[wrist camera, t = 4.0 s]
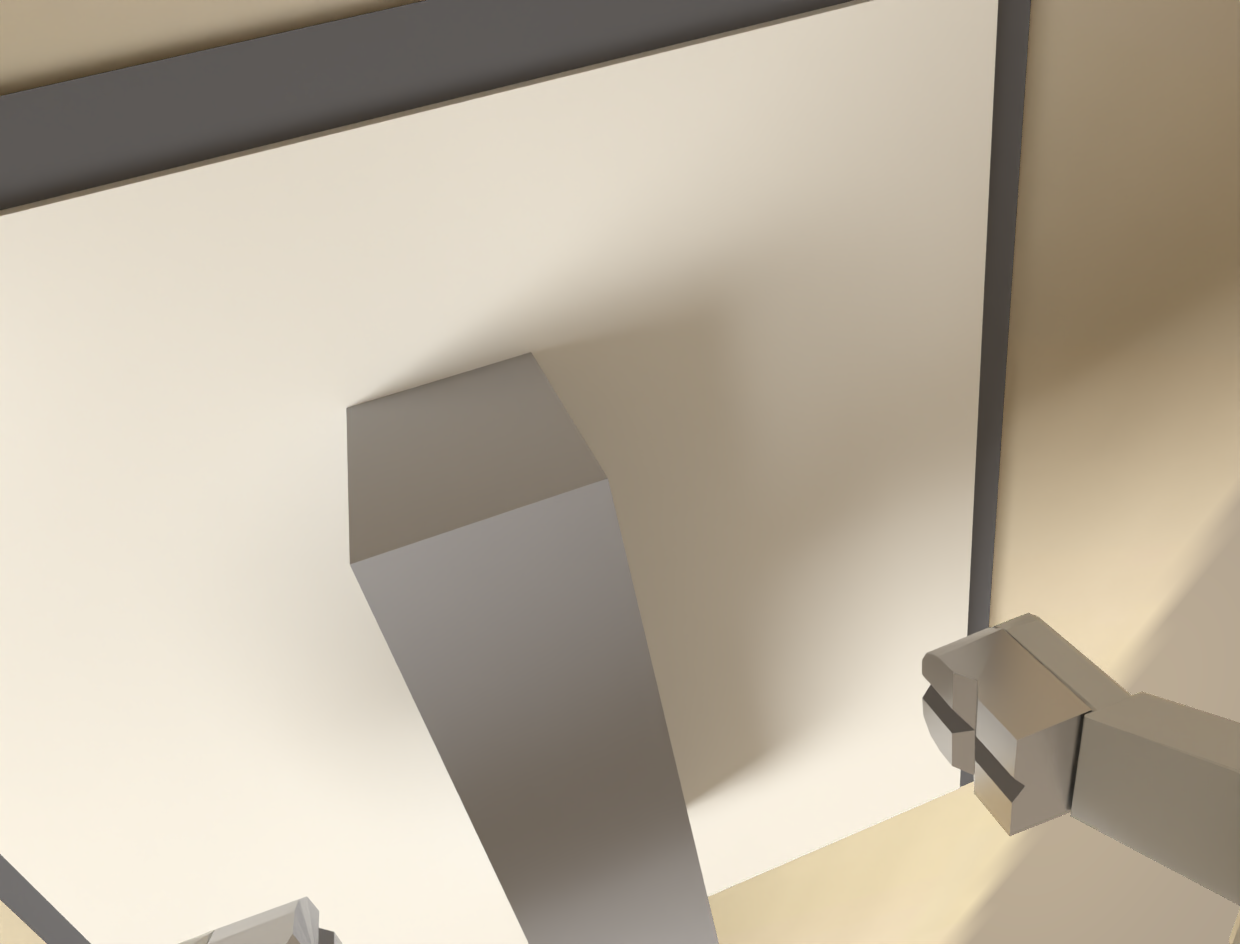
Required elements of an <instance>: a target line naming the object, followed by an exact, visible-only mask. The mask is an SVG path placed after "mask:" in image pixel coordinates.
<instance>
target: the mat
mask: <svg viewBox="0 0 1240 944" xmlns="http://www.w3.org/2000/svg"><path fill="white" fill-rule="evenodd" d="M850 1H854V0H425V1H421V2H416V3H412V4H407V5H403V6H399V7H394V8H390V9H385V10H381V11H376V12H372V13H367V14H363V15H358V16H354V17H350V18H345V19H341V20H336V21H332V22H327V23H323V24H318V25H314V26H310V27H305V28H301V29H296V30H292V31H287V32H283V33H278V34H274V35H269V36H265V37H261V38H256V39H252V40H247V41H243V42H238V43H234V44H229V45H225V46H221V47H216V48H212V49H207V50H203V51H198V52H194V53H189V54H185V55H180V56H176V57H172V58H167V59H163V60H158V61H154V62H149V63H145V64H140V65H136V66H132V67H127V68H123V69H118V70H114V71H109V72H105V73H100V74H96V75H91V76H87V77H83V78H78V79H74V80H69V81H65V82H60V83H56V84H51V85H47V86H43V87H38V88H34V89H29V90H25V91H20V92H16V93H11V94H7V95H2V96H0V210H4V209H8V208H12V207H17V206H21V205H25V204H29V203H33V202H37V201H41V200H45V199H49V198H53V197H57V196H61V195H65V194H69V193H73V192H77V191H82V190H86V189H90V188H94V187H98V186H102V185H106V184H110V183H114V182H118V181H122V180H126V179H130V178H134V177H138V176H142V175H147V174H151V173H155V172H159V171H163V170H167V169H171V168H175V167H179V166H183V165H187V164H191V163H195V162H199V161H203V160H207V159H212V158H216V157H220V156H224V155H228V154H232V153H236V152H240V151H244V150H248V149H252V148H256V147H260V146H264V145H268V144H273V143H277V142H281V141H285V140H289V139H293V138H297V137H301V136H305V135H309V134H313V133H317V132H321V131H325V130H329V129H333V128H338V127H342V126H346V125H350V124H354V123H358V122H362V121H366V120H370V119H374V118H378V117H382V116H386V115H390V114H394V113H398V112H403V111H407V110H411V109H415V108H419V107H423V106H427V105H431V104H435V103H439V102H443V101H447V100H451V99H455V98H459V97H463V96H468V95H472V94H476V93H480V92H484V91H488V90H492V89H496V88H500V87H504V86H508V85H512V84H516V83H520V82H524V81H529V80H533V79H537V78H541V77H545V76H549V75H553V74H557V73H561V72H565V71H569V70H573V69H577V68H581V67H585V66H589V65H594V64H598V63H602V62H606V61H610V60H614V59H618V58H622V57H626V56H630V55H634V54H638V53H642V52H646V51H650V50H654V49H659V48H663V47H667V46H671V45H675V44H679V43H683V42H687V41H691V40H695V39H699V38H703V37H707V36H711V35H715V34H719V33H724V32H728V31H732V30H736V29H740V28H744V27H748V26H752V25H756V24H760V23H764V22H768V21H772V20H776V19H780V18H785V17H789V16H793V15H797V14H801V13H805V12H809V11H813V10H817V9H821V8H825V7H829V6H833V5H837V4H841V3H845V2H850ZM1030 6H1031V0H998V15H997V36H996V56H995V77H994V97H993V118H992V138H991V158H990V179H989V199H988V220H987V240H986V261H985V281H984V302H983V322H982V342H981V363H980V383H979V404H978V424H977V445H976V465H975V485H974V506H973V526H972V547H971V567H970V588H969V608H968V629H967V636H969V635H971V634H974V633H976V632H979V631H981V630H984V629H986V628H988V627H989V613H990V599H991V584H992V569H993V554H994V539H995V524H996V510H997V495H998V480H999V465H1000V450H1001V436H1002V421H1003V406H1004V391H1005V376H1006V362H1007V347H1008V332H1009V317H1010V302H1011V287H1012V273H1013V258H1014V243H1015V228H1016V213H1017V199H1018V184H1019V169H1020V154H1021V139H1022V125H1023V110H1024V95H1025V80H1026V65H1027V50H1028V36H1029V21H1030ZM973 781H974V775H972V774H970V773H967V772H965V771H963V770H961V772H960V787H961V786H963V785H966V784H968V783H970V782H973ZM0 900H1V901H2V902H3V903H4V904H5V905H7V906H8V907H9V908H10V909H11V910H12V911H13V912H14V913H15V914H16V915H17V916H18V917H19V918H20V919H21V920H22V921H24V922H25V923H26V924H27V925H28V926H29V927H30V928H31V929H32V930H33V931H34V932H35V933H36V934H37V935H38V936H40V937H41V938H42V939H43V940H44V941H45V942H46V943H47V944H91V943H90V942H89V941H88V940H87V939H86V938H85V937H84V936H83V935H82V934H81V933H80V932H79V931H78V930H77V929H76V928H75V927H74V926H73V925H72V924H71V923H70V922H69V921H68V920H67V919H66V918H65V917H64V916H62V915H61V914H60V913H59V912H58V911H57V910H56V909H55V908H54V907H53V906H52V905H51V904H50V903H49V902H48V901H47V900H46V899H45V898H44V897H43V896H42V895H41V894H40V893H39V892H38V891H37V890H36V889H35V888H34V887H33V886H32V885H31V884H30V883H29V882H28V881H27V880H26V879H25V878H24V877H23V876H22V875H21V874H20V873H19V872H18V871H17V870H16V869H15V868H14V867H13V866H12V865H11V864H10V863H9V862H8V861H7V860H6V859H5V858H4V857H3V856H2V855H1V854H0Z"/></svg>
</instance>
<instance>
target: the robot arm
mask: <svg viewBox="0 0 1240 944" xmlns="http://www.w3.org/2000/svg"><path fill="white" fill-rule="evenodd" d="M922 675H923V676H924V677H925V678H926V680H927V681H928V682H929V683H930V684H931V685H930V686H929V688H928V689H927V691H926V693H925V694H924V696H923V697H922V703H923V716H924V719H925V722H926V724H927V727H928V730H929V733H930V735H931V737H932V739H933V740H934V742H935V744H936V745H937V747H938V749H939V750H940V752H941V753H942V754H943V755H944V757H945V758H946V759H947V760H948V762H949V763H950V764H951V765H952V766H953V767H956V768H958V769H960V770H963V771H965V772H967V773H970V774H972V775H974V794H975V795H976V796H977V797H978V799H979V800H980V801H981V802H982V803H983V805H984V806H985V807H986V808H987V809H988V811H989V812H990V813H991V814H992V816H993V817H994V818H995V819H996V820H997V822H998V823H999V824H1000V825H1001V826H1002V828H1003V829H1004V830H1005V831H1006V832H1007V834H1008V835H1009V836H1011V835H1014V834H1016V833H1019V832H1021V831H1024V830H1027V829H1029V828H1032V827H1034V826H1037V825H1039V824H1042V823H1044V822H1047V821H1049V820H1052V819H1054V818H1057V817H1059V816H1062V815H1064V814H1067V813H1069V812H1071V815H1070V816H1071V817H1073V818H1075V819H1077V820H1079V821H1081V822H1082V823H1085V824H1086V825H1088V826H1090V827H1092V828H1094V829H1096V830H1098V831H1099V832H1101V833H1103V834H1105V835H1107V836H1109V837H1111V838H1113V839H1115V840H1116V841H1119V842H1120V843H1122V844H1124V845H1126V846H1128V847H1130V848H1132V849H1133V850H1135V851H1137V852H1139V853H1141V854H1143V855H1145V856H1147V857H1149V858H1150V859H1152V860H1154V861H1156V862H1158V863H1160V864H1162V865H1164V866H1166V867H1167V868H1170V869H1171V870H1173V871H1175V872H1177V873H1179V874H1181V875H1183V876H1185V877H1187V878H1188V879H1190V880H1192V881H1194V882H1196V883H1198V884H1200V885H1202V886H1203V887H1205V888H1207V889H1209V890H1211V891H1213V892H1215V893H1217V894H1219V895H1221V896H1222V897H1224V898H1226V899H1228V900H1230V901H1232V902H1234V903H1236V904H1238V905H1240V723H1239V722H1236V721H1233V720H1230V719H1227V718H1223V717H1220V716H1217V715H1214V714H1211V713H1208V712H1204V711H1202V710H1198V709H1195V708H1192V707H1189V706H1186V705H1183V704H1180V703H1176V702H1174V701H1170V700H1167V699H1164V698H1161V697H1158V696H1155V695H1152V694H1148V693H1146V692H1139V693H1137V694H1134V695H1131V694H1130V693H1129V692H1127V691H1126V690H1125V689H1124V688H1123V687H1121V686H1120V685H1119V684H1118V683H1117V682H1116V681H1114V680H1113V679H1112V678H1111V677H1110V676H1108V675H1107V674H1106V673H1105V672H1104V671H1102V670H1101V669H1100V668H1099V667H1098V666H1096V665H1095V664H1094V663H1093V662H1092V661H1090V660H1089V659H1088V658H1087V657H1086V656H1085V655H1083V654H1082V653H1081V652H1080V651H1079V650H1077V649H1076V648H1075V647H1074V646H1073V645H1071V644H1070V643H1069V642H1068V641H1067V640H1065V639H1064V638H1063V637H1062V636H1061V635H1059V634H1058V633H1057V632H1056V631H1055V630H1054V629H1052V628H1051V627H1050V626H1049V625H1048V624H1046V623H1045V622H1044V621H1043V620H1042V619H1040V618H1039V617H1038V616H1035V615H1032V614H1030V613H1027V614H1024V615H1021V616H1019V617H1016V618H1014V619H1011V620H1009V621H1006V622H1004V623H1001V624H999V625H996V626H994V627H992V628H991V627H988V628H986V629H984V630H981V631H979V632H976V633H974V634H971V635H969V636H966V637H964V638H961V639H959V640H957V641H954V642H952V643H949V644H947V645H944V646H942V647H939V648H937V649H934V650H932V651H930V652H927V653H926V654H925V656H924V658H923V659H922ZM178 944H342V942H341V941H340V939H339V938H338V936H337V935H336V934H335V932H333V931H329V930H325V929H322V928H319V910H318V909H317V908H316V907H315V905H314V904H313V903H312V902H311V900H310V899H309V898H308V897H307V896H306V897H304V898H301V899H298V900H295V901H293V902H290V903H287V904H284V905H281V906H279V907H276V908H273V909H270V910H268V911H265V912H262V913H259V914H256V915H254V916H251V917H248V918H245V919H243V920H240V921H237V922H234V923H232V924H229V925H226V926H223V927H220V928H218V929H215V930H212V931H210V932H207V933H204V934H202V935H199V936H196V937H194V938H191V939H189V940H186V941H183V942H181V943H178ZM1229 944H1240V909H1239V912H1238V915H1237V918H1236V920H1235V923H1234V926H1233V929H1232V932H1231V935H1230V937H1229Z"/></svg>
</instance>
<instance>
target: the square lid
mask: <svg viewBox="0 0 1240 944" xmlns="http://www.w3.org/2000/svg"><path fill="white" fill-rule="evenodd" d="M997 15H998V0H854V1H850V2H845V3H841V4H837V5H833V6H829V7H825V8H821V9H817V10H813V11H809V12H805V13H801V14H797V15H793V16H789V17H785V18H780V19H776V20H772V21H768V22H764V23H760V24H756V25H752V26H748V27H744V28H740V29H736V30H732V31H728V32H724V33H719V34H715V35H711V36H707V37H703V38H699V39H695V40H691V41H687V42H683V43H679V44H675V45H671V46H667V47H663V48H659V49H654V50H650V51H646V52H642V53H638V54H634V55H630V56H626V57H622V58H618V59H614V60H610V61H606V62H602V63H598V64H594V65H589V66H585V67H581V68H577V69H573V70H569V71H565V72H561V73H557V74H553V75H549V76H545V77H541V78H537V79H533V80H529V81H524V82H520V83H516V84H512V85H508V86H504V87H500V88H496V89H492V90H488V91H484V92H480V93H476V94H472V95H468V96H463V97H459V98H455V99H451V100H447V101H443V102H439V103H435V104H431V105H427V106H423V107H419V108H415V109H411V110H407V111H403V112H398V113H394V114H390V115H386V116H382V117H378V118H374V119H370V120H366V121H362V122H358V123H354V124H350V125H346V126H342V127H338V128H333V129H329V130H325V131H321V132H317V133H313V134H309V135H305V136H301V137H297V138H293V139H289V140H285V141H281V142H277V143H273V144H268V145H264V146H260V147H256V148H252V149H248V150H244V151H240V152H236V153H232V154H228V155H224V156H220V157H216V158H212V159H207V160H203V161H199V162H195V163H191V164H187V165H183V166H179V167H175V168H171V169H167V170H163V171H159V172H155V173H151V174H147V175H142V176H138V177H134V178H130V179H126V180H122V181H118V182H114V183H110V184H106V185H102V186H98V187H94V188H90V189H86V190H82V191H77V192H73V193H69V194H65V195H61V196H57V197H53V198H49V199H45V200H41V201H37V202H33V203H29V204H25V205H21V206H17V207H12V208H8V209H4V210H0V854H1V855H2V856H3V857H4V858H5V859H6V860H7V861H8V862H9V863H10V864H11V865H12V866H13V867H14V868H15V869H16V870H17V871H18V872H19V873H20V874H21V875H22V876H23V877H24V878H25V879H26V880H27V881H28V882H29V883H30V884H31V885H32V886H33V887H34V888H35V889H36V890H37V891H38V892H39V893H40V894H41V895H42V896H43V897H44V898H45V899H46V900H47V901H48V902H49V903H50V904H51V905H52V906H53V907H54V908H55V909H56V910H57V911H58V912H59V913H60V914H61V915H62V916H64V917H65V918H66V919H67V920H68V921H69V922H70V923H71V924H72V925H73V926H74V927H75V928H76V929H77V930H78V931H79V932H80V933H81V934H82V935H83V936H84V937H85V938H86V939H87V940H88V941H89V942H90V943H91V944H178V943H181V942H183V941H186V940H189V939H191V938H194V937H196V936H199V935H202V934H204V933H207V932H210V931H212V930H215V929H218V928H220V927H223V926H226V925H229V924H232V923H234V922H237V921H240V920H243V919H245V918H248V917H251V916H254V915H256V914H259V913H262V912H265V911H268V910H270V909H273V908H276V907H279V906H281V905H284V904H287V903H290V902H293V901H295V900H298V899H301V898H304V897H306V896H307V897H308V898H309V899H310V900H311V902H312V903H313V904H314V905H315V907H316V908H317V909H318V910H319V928H322V929H325V930H329V931H333V932H335V934H336V935H337V936H338V938H339V939H340V941H341V942H342V944H719V943H718V938H717V934H716V930H715V926H714V922H713V917H712V913H711V909H710V905H709V901H708V897H709V896H711V895H713V894H716V893H718V892H720V891H723V890H725V889H727V888H729V887H732V886H734V885H736V884H739V883H741V882H743V881H746V880H748V879H750V878H753V877H755V876H757V875H760V874H762V873H764V872H767V871H769V870H771V869H774V868H776V867H778V866H781V865H783V864H785V863H787V862H790V861H792V860H794V859H797V858H799V857H801V856H804V855H806V854H808V853H811V852H813V851H815V850H818V849H820V848H822V847H825V846H827V845H829V844H832V843H834V842H836V841H838V840H841V839H843V838H845V837H848V836H850V835H852V834H855V833H857V832H859V831H862V830H864V829H866V828H869V827H871V826H873V825H876V824H878V823H880V822H883V821H885V820H887V819H889V818H892V817H894V816H896V815H899V814H901V813H903V812H906V811H908V810H910V809H913V808H915V807H917V806H920V805H922V804H924V803H927V802H929V801H931V800H934V799H936V798H938V797H940V796H943V795H945V794H947V793H950V792H952V791H954V790H957V789H959V788H960V772H961V770H960V769H958V768H956V767H953V766H952V765H951V764H950V763H949V762H948V760H947V759H946V758H945V757H944V755H943V754H942V753H941V752H940V750H939V749H938V747H937V745H936V744H935V742H934V740H933V739H932V737H931V735H930V733H929V730H928V727H927V724H926V722H925V719H924V716H923V703H922V697H923V696H924V694H925V693H926V691H927V689H928V688H929V686H930V685H931V684H930V683H929V682H928V681H927V680H926V678H925V677H924V676H923V675H922V659H923V658H924V656H925V654H926V653H927V652H930V651H932V650H934V649H937V648H939V647H942V646H944V645H947V644H949V643H952V642H954V641H957V640H959V639H961V638H964V637H966V636H967V629H968V608H969V588H970V567H971V547H972V526H973V506H974V485H975V465H976V445H977V424H978V404H979V383H980V363H981V342H982V322H983V302H984V281H985V261H986V240H987V220H988V199H989V179H990V158H991V138H992V118H993V97H994V77H995V56H996V36H997Z"/></svg>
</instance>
